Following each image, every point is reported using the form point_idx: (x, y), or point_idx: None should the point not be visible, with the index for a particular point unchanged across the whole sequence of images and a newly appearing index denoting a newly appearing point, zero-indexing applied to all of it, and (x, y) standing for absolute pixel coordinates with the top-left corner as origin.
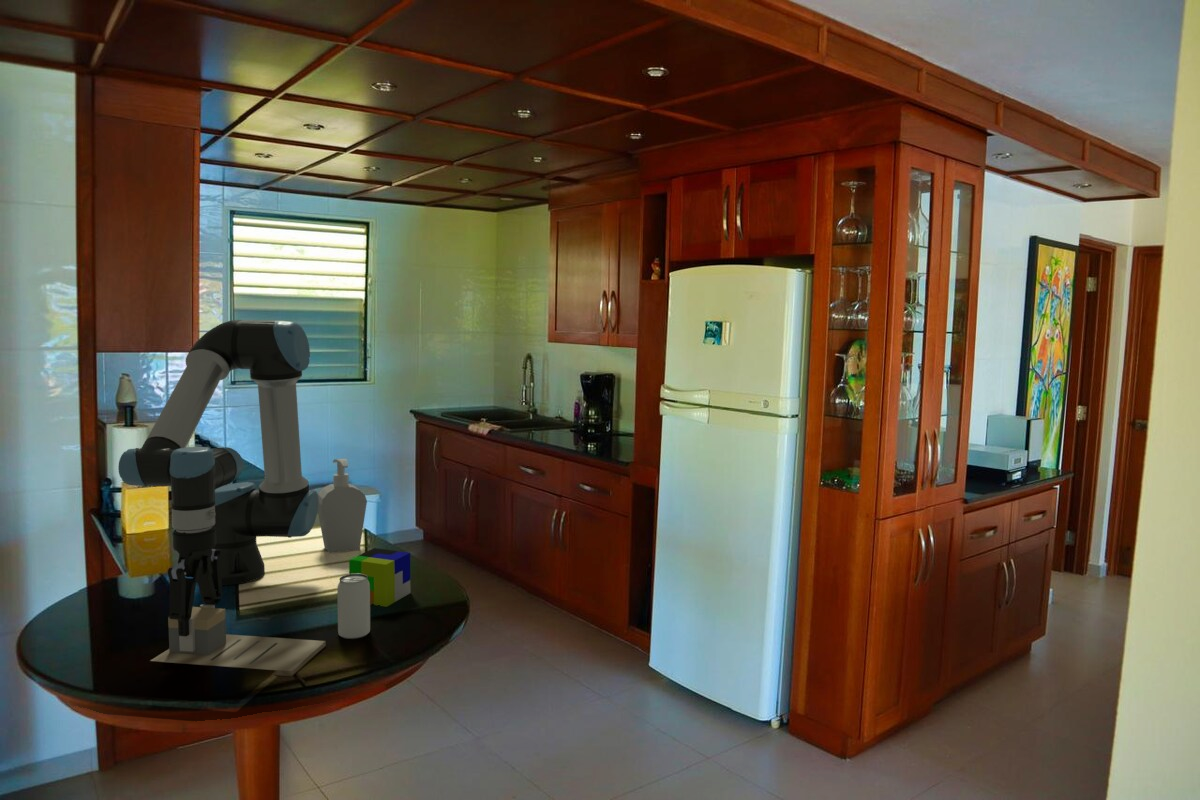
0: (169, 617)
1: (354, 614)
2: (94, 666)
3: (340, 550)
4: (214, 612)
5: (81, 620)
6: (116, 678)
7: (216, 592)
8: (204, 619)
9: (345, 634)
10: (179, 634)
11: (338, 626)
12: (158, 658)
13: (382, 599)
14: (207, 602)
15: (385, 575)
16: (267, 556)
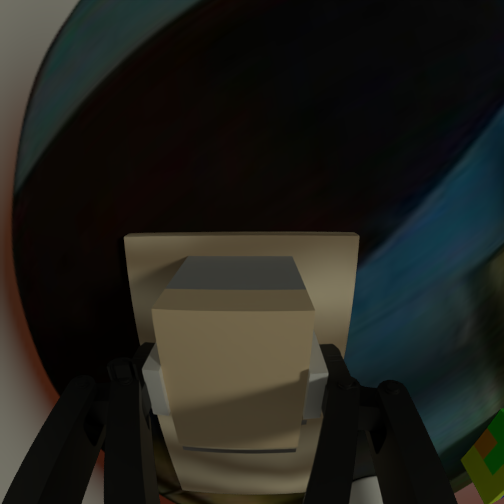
0: (71, 380)
1: None
2: (104, 84)
3: None
4: (255, 437)
5: None
6: (58, 199)
7: (376, 429)
8: (180, 436)
9: None
10: (141, 347)
11: (354, 494)
12: (142, 251)
13: (468, 462)
14: (326, 400)
15: (480, 493)
16: None
